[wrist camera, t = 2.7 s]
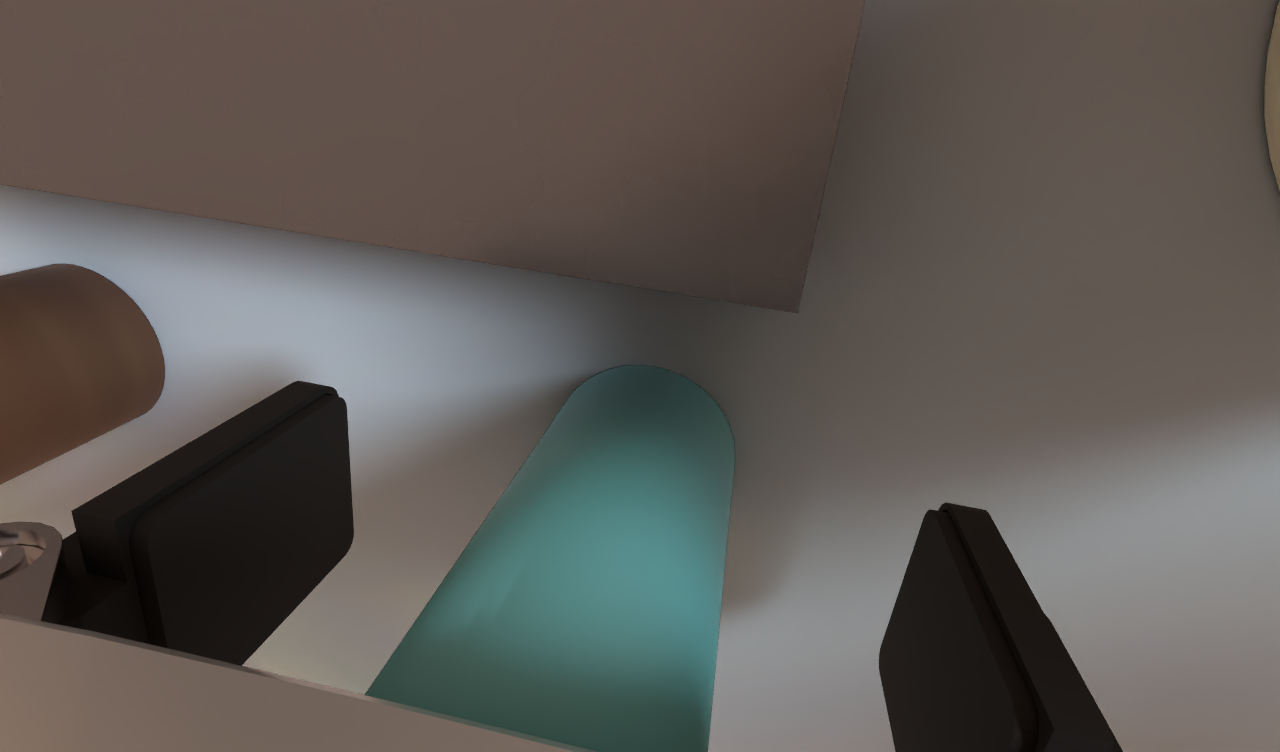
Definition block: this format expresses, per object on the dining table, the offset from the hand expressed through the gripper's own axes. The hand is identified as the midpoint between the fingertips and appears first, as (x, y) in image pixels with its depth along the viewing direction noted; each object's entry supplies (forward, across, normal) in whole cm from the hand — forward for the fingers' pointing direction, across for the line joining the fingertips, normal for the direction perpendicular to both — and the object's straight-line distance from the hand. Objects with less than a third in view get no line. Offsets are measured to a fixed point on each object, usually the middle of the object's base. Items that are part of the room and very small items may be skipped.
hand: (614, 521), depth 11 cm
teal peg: (+2, 0, 0) cm, 2 cm away
